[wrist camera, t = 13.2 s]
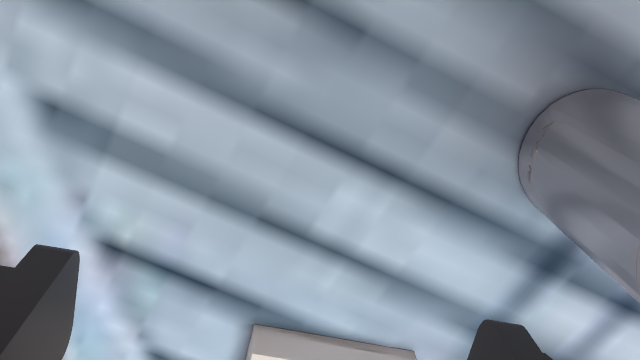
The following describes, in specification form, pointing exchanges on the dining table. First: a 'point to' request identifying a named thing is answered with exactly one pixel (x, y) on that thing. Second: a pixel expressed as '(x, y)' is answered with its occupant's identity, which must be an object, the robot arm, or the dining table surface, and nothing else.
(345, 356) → the tray
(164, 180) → the dining table surface
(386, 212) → the dining table surface
